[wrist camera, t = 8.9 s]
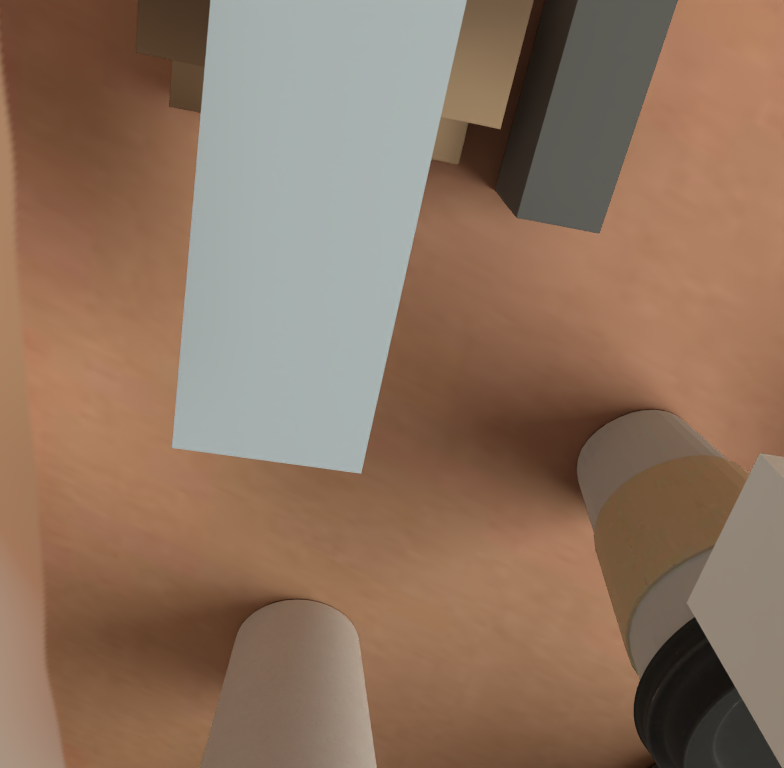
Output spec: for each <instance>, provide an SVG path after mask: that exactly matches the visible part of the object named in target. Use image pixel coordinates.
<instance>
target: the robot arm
mask: <svg viewBox="0 0 784 768" xmlns="http://www.w3.org/2000/svg"><path fill="white" fill-rule="evenodd" d="M687 604H688V606H689V607H690V609H691V611H692V613H693V614H694V616H695V618H696V620H697V621H698V623H699V625H700V627H701V628H702V630H703V632H704V633H705V635H706V637H707V639H708V640H709V642H710V644H711V646H712V647H713V649H714V651H715V653H716V654H717V656H718V658H719V659H720V661H721V663H722V665H723V666H724V668H725V670H726V672H727V673H728V675H729V677H730V679H731V680H732V682H733V684H734V685H735V687H736V689H737V691H738V692H739V694H740V696H741V698H742V699H743V701H744V703H745V705H746V706H747V708H748V710H749V711H750V713H751V715H752V717H753V718H754V720H755V722H756V724H757V725H758V727H759V729H760V731H761V732H762V734H763V736H764V737H765V739H766V741H767V743H768V744H769V746H770V748H771V750H772V751H773V753H774V755H775V757H776V758H777V760H778V762H779V764H780V765H781V767H782V768H784V457H781V456H774V455H768V454H761V453H760V454H759V456H758V458H757V460H756V462H755V464H754V466H753V468H752V470H751V472H750V475H749V477H748V479H747V481H746V483H745V485H744V487H743V489H742V491H741V493H740V495H739V497H738V499H737V501H736V503H735V505H734V507H733V509H732V511H731V513H730V515H729V517H728V519H727V521H726V523H725V526H724V528H723V530H722V532H721V534H720V536H719V538H718V540H717V542H716V544H715V546H714V548H713V550H712V552H711V554H710V556H709V558H708V560H707V562H706V564H705V566H704V568H703V570H702V572H701V574H700V577H699V579H698V581H697V583H696V585H695V587H694V589H693V591H692V593H691V595H690V597H689V599H688V601H687ZM651 768H659V767H658V765H657V764H656V765H654V766H653V767H651Z"/></svg>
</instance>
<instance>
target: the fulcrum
mask: <svg viewBox="0 0 784 768" xmlns="http://www.w3.org/2000/svg"><path fill="white" fill-rule="evenodd" d="M533 1H534V0H467V2H466V6H465V11H464V15H463V20H462V24H461V29H460V33H459V38H458V42H457V47H456V51H455V56H454V60H453V64H452V69H451V73H450V78H449V82H448V87H447V91H446V96H445V100H444V105H443V109H442V114H441V118H440V123H439V127H438V132H437V136H436V141H435V145H434V150H433V154H432V159H433V160H438V161H443V162H448V163H453V164H459V160H460V156H461V152H462V148H463V144H464V139H465V135H466V131H467V127H468V123H473V124H478V125H483V126H487V127H492V128H497V129H501V125H502V121H503V117H504V113H505V109H506V106H507V102H508V98H509V94H510V90H511V86H512V82H513V78H514V75H515V71H516V67H517V63H518V59H519V55H520V51H521V48H522V44H523V40H524V36H525V32H526V28H527V24H528V21H529V17H530V13H531V9H532V5H533ZM209 11H210V0H138V20H137V41H136V53H140V54H144V55H149V56H154V57H159V58H164V59H168V60H172V71H171V86H170V101H169V107H174V108H179V109H184V110H189V111H194V112H199V113H201V104H202V93H203V81H204V69H205V58H206V46H207V35H208V23H209Z"/></svg>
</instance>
